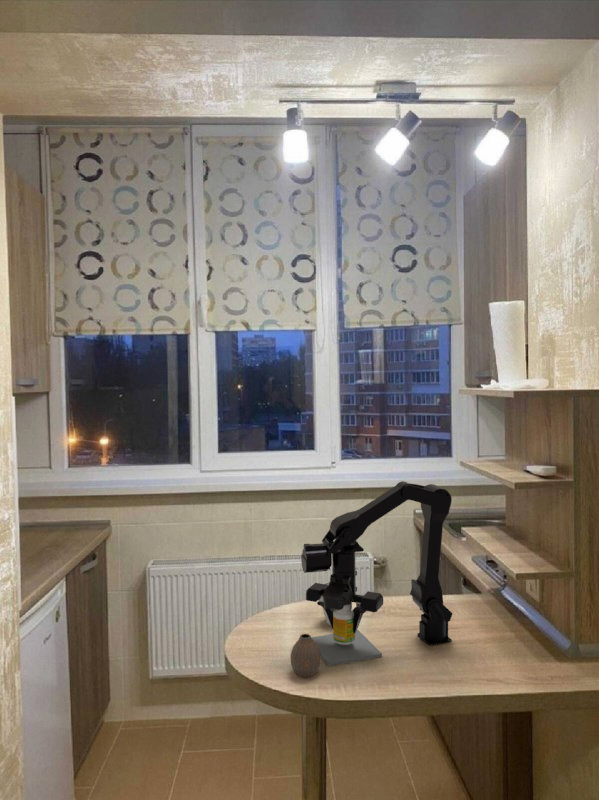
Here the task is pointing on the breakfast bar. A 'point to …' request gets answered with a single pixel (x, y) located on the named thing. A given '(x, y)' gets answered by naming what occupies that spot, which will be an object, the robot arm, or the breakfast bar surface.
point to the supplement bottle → (343, 625)
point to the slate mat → (345, 649)
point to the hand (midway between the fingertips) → (344, 630)
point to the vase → (305, 656)
